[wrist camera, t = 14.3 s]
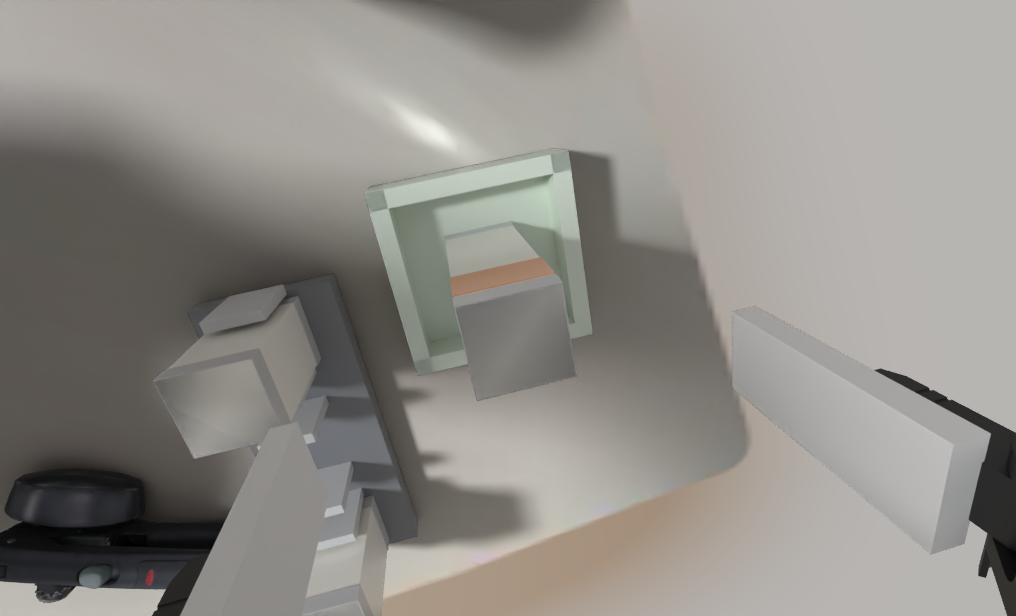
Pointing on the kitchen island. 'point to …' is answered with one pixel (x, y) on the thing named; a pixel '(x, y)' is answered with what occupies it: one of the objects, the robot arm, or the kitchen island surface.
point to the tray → (465, 206)
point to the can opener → (92, 535)
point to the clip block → (331, 409)
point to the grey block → (351, 571)
